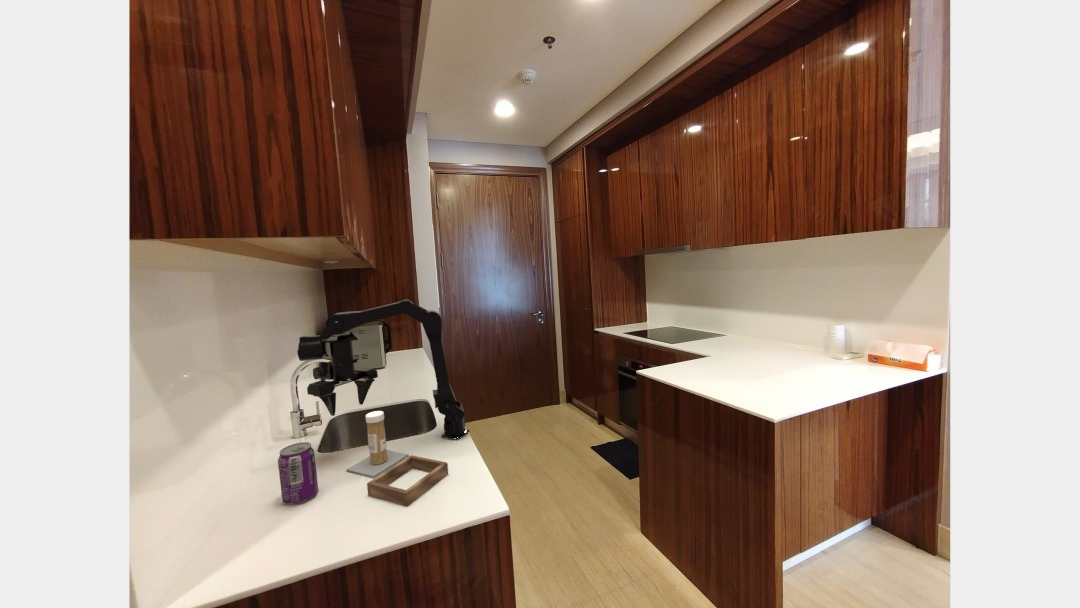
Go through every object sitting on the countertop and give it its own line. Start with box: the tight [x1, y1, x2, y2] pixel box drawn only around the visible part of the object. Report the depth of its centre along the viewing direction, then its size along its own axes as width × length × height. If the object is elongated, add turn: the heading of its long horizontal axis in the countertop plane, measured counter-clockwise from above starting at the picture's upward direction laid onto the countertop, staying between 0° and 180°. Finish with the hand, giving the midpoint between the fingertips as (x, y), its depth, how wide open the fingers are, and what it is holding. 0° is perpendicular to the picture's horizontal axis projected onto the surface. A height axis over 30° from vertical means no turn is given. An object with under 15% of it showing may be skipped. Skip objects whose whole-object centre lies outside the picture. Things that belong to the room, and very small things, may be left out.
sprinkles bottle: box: [365, 410, 388, 465], centre depth 101 cm, size 5×5×14 cm
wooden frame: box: [366, 454, 449, 507], centre depth 90 cm, size 14×12×3 cm
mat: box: [346, 449, 410, 479], centre depth 101 cm, size 12×10×1 cm
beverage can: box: [277, 441, 319, 505], centre depth 86 cm, size 7×7×12 cm
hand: (347, 409), depth 107 cm, fingers open, 9 cm apart
